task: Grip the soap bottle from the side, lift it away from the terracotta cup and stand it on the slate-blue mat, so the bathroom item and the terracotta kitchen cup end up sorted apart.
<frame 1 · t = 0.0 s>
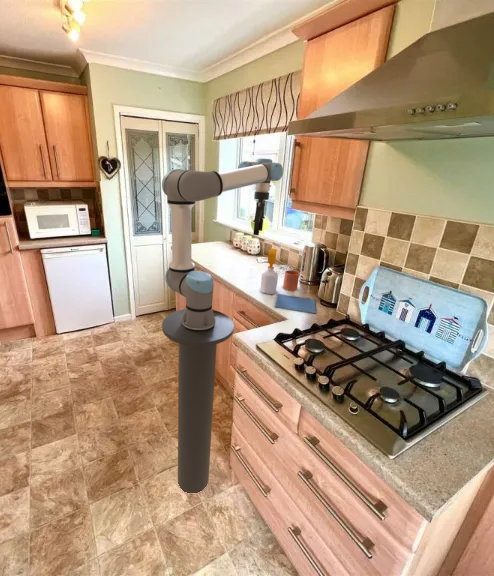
hand: (257, 232, 164), 33 cm above the table, tool pointing down, fingers open, 13 cm apart
terracotta cup: (289, 288, 182), on the table
blue mat: (295, 303, 161), on the table
soap bottle: (267, 291, 176), on the table
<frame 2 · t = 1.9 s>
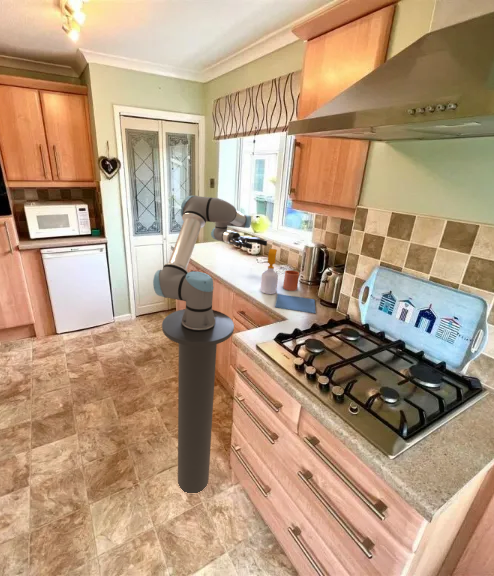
hand: (259, 245, 172), 25 cm above the table, tool horizontal, fingers open, 13 cm apart
nothing on the table moved.
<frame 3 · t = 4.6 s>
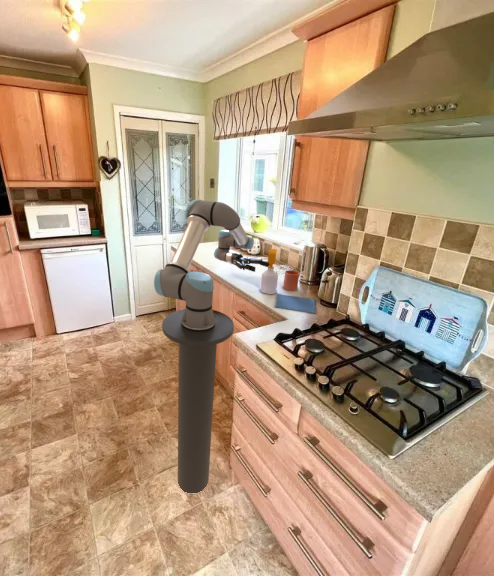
hand: (262, 267, 175), 13 cm above the table, tool horizontal, fingers open, 13 cm apart
nothing on the table moved.
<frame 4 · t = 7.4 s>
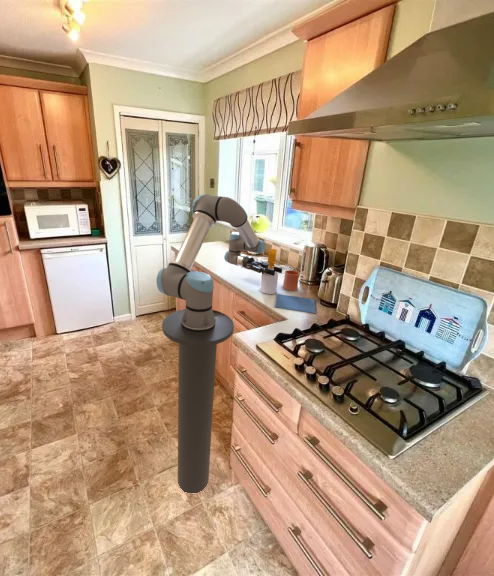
hand: (278, 272, 168), 13 cm above the table, tool horizontal, fingers closed on soap bottle, 6 cm apart
soap bottle: (267, 291, 176), on the table, touching gripper
everything else where it was.
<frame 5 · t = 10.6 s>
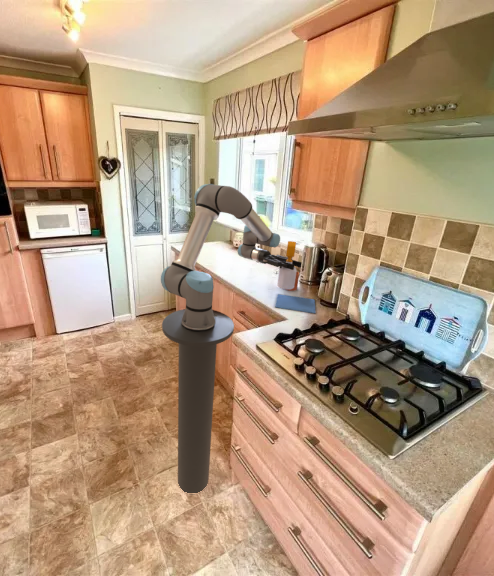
hand: (297, 266, 157), 20 cm above the table, tool horizontal, fingers closed on soap bottle, 6 cm apart
soap bottle: (285, 287, 165), point 7 cm above the table, touching gripper
everything else where it was.
when the fingers open (13 cm above the table, at t = 13.8 s): soap bottle stays where it is, resting on blue mat.
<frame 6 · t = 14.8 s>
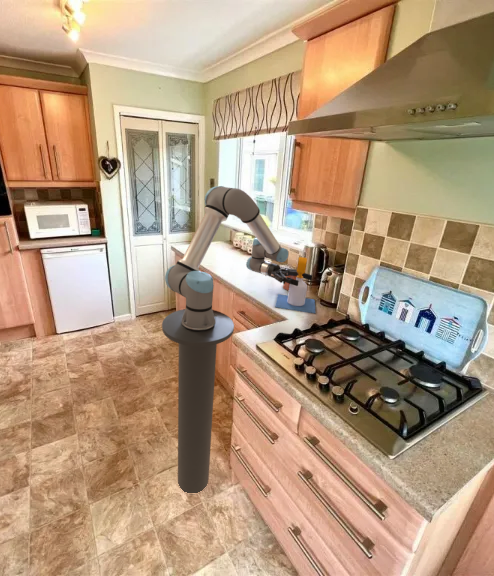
hand: (305, 280, 154), 14 cm above the table, tool horizontal, fingers open, 13 cm apart
soap bottle: (295, 303, 161), resting on blue mat
everything else where it was.
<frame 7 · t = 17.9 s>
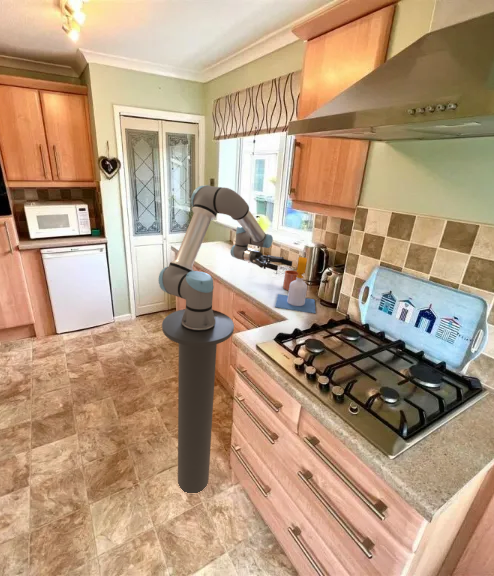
hand: (284, 265, 161), 18 cm above the table, tool horizontal, fingers open, 13 cm apart
nothing on the table moved.
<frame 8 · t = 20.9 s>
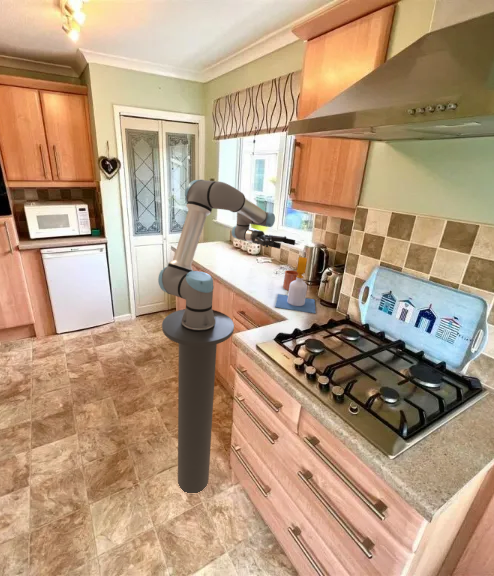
hand: (287, 244, 157), 30 cm above the table, tool horizontal, fingers open, 13 cm apart
nothing on the table moved.
at the end: soap bottle inside the target area (0.0 cm from its centre), resting on blue mat; soap bottle tilted 0°; terracotta cup moved 0.0 cm from its start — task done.
